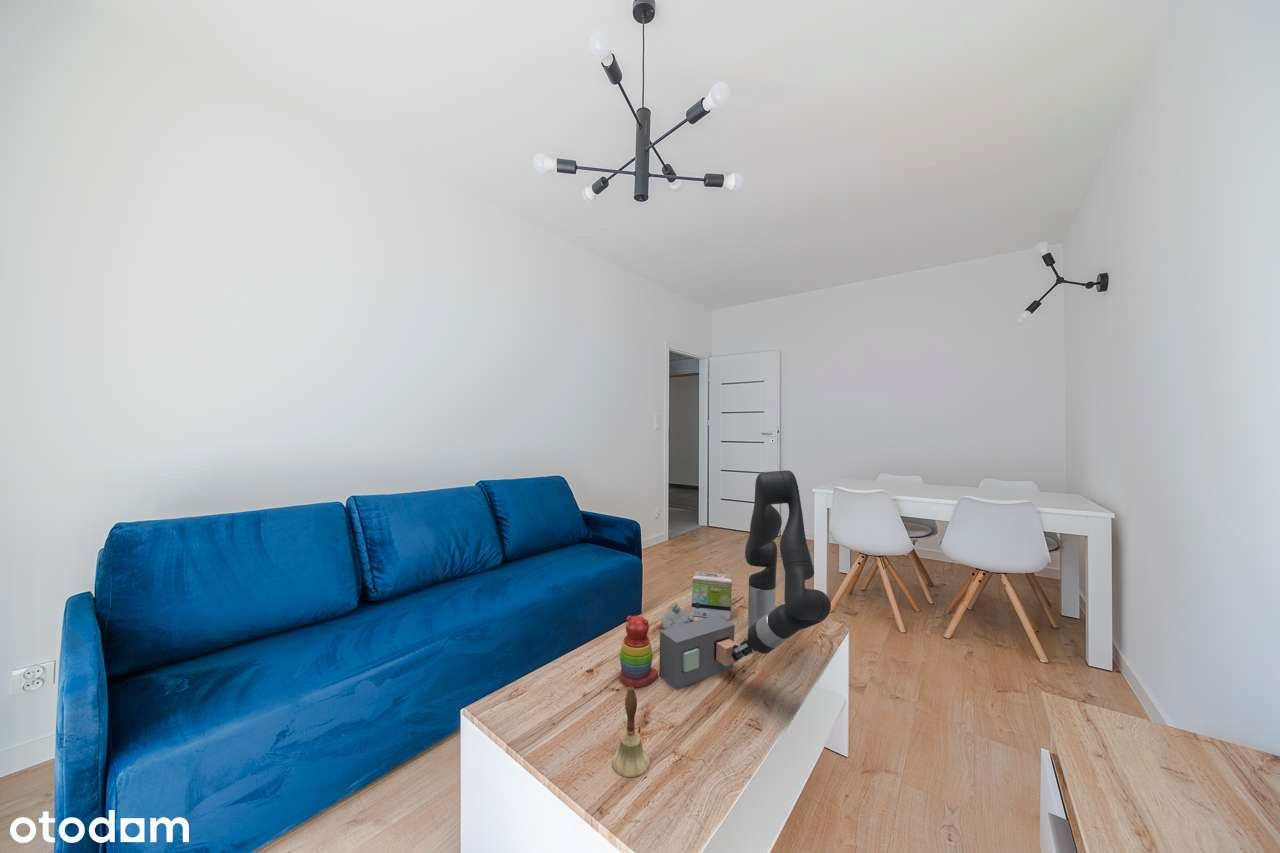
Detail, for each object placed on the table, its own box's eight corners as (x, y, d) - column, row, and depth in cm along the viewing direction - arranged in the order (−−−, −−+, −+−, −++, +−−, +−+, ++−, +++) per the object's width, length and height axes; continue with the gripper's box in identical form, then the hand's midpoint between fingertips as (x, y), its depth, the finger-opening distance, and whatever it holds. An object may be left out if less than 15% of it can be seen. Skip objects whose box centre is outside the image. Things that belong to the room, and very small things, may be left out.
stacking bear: (660, 674, 127) (661, 613, 127) (646, 692, 118) (647, 627, 118) (627, 664, 132) (628, 606, 132) (611, 682, 122) (612, 619, 123)
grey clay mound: (686, 647, 148) (682, 620, 146) (657, 637, 155) (653, 611, 153) (701, 624, 158) (698, 599, 155) (673, 616, 165) (669, 592, 162)
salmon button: (728, 655, 130) (729, 638, 130) (738, 661, 126) (738, 644, 126) (716, 659, 127) (716, 642, 127) (725, 666, 124) (725, 648, 124)
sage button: (690, 660, 126) (690, 643, 126) (698, 667, 123) (699, 649, 123) (676, 665, 124) (676, 647, 124) (684, 672, 120) (685, 654, 120)
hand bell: (610, 777, 89) (611, 700, 89) (612, 747, 97) (614, 677, 98) (650, 778, 89) (652, 700, 89) (649, 748, 98) (650, 677, 98)
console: (715, 655, 138) (716, 614, 138) (733, 667, 131) (734, 624, 131) (659, 675, 126) (660, 630, 126) (675, 689, 120) (676, 642, 120)
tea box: (691, 617, 166) (692, 578, 166) (692, 606, 176) (693, 570, 176) (731, 620, 164) (731, 581, 164) (730, 609, 174) (730, 573, 174)
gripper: (778, 613, 120) (744, 638, 130) (743, 624, 113) (711, 649, 123) (793, 640, 115) (757, 664, 126) (759, 653, 108) (723, 677, 119)
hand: (734, 657), depth 124 cm, fingers closed
